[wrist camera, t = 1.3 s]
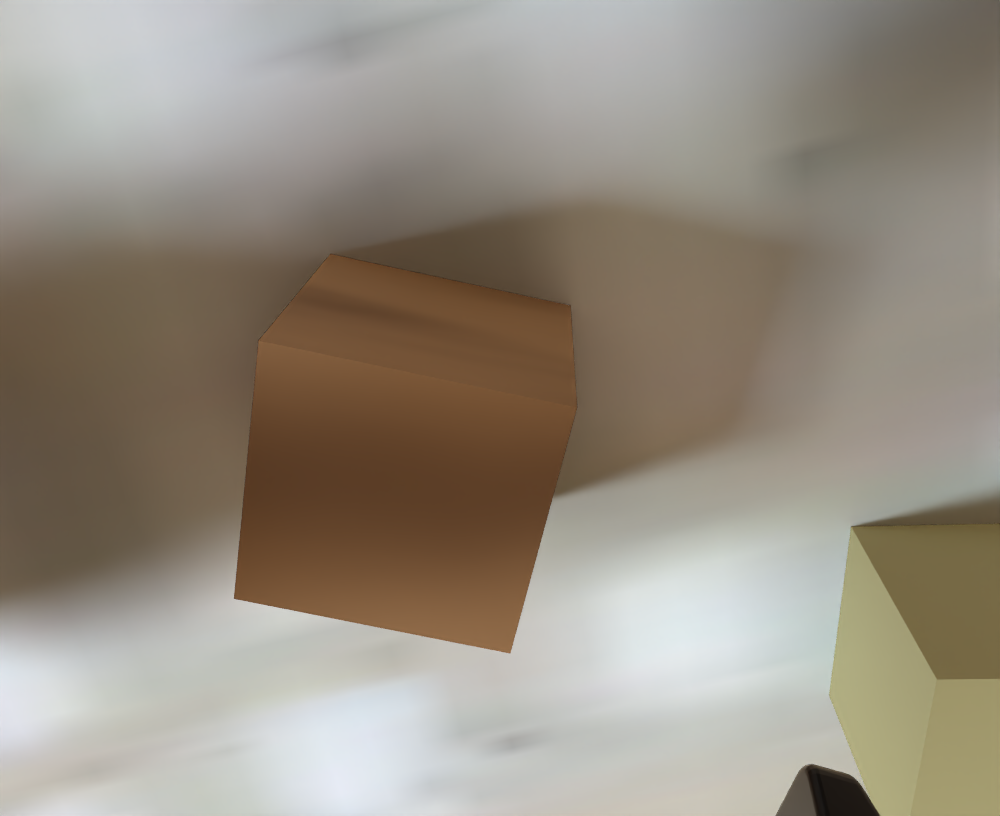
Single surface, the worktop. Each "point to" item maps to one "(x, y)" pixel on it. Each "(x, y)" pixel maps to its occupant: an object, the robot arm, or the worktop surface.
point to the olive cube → (922, 667)
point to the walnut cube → (405, 452)
